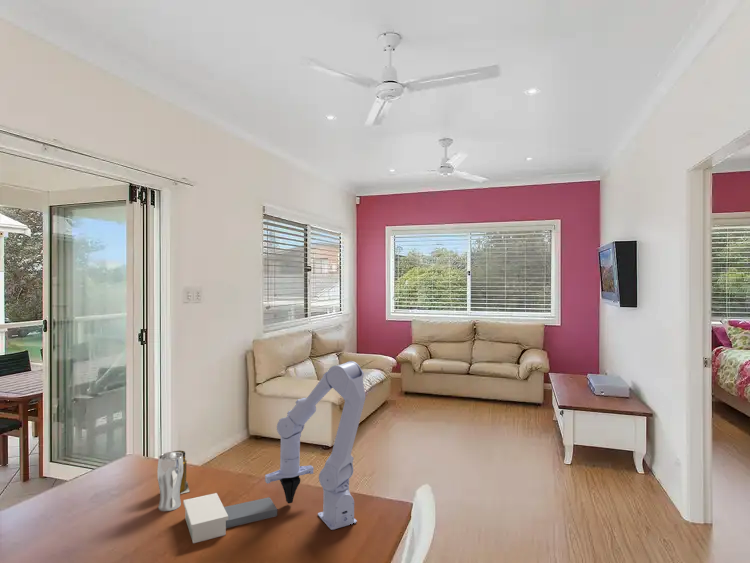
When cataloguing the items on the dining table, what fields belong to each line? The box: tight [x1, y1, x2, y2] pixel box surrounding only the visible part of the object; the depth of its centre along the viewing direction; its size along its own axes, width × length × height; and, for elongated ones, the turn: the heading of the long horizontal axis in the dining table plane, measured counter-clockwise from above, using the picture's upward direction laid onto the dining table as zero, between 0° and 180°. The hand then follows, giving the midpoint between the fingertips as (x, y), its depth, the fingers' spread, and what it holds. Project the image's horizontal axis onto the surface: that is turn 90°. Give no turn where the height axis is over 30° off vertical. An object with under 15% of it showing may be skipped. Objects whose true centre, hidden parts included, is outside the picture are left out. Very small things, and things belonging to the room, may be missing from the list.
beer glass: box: [156, 451, 183, 512], centre depth 131 cm, size 7×7×15 cm
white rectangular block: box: [182, 492, 228, 544], centre depth 120 cm, size 15×9×5 cm, turn 31°
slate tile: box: [224, 497, 278, 529], centre depth 126 cm, size 8×14×2 cm, turn 119°
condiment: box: [172, 450, 190, 495], centre depth 142 cm, size 7×8×12 cm
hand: (289, 501), depth 133 cm, fingers closed
